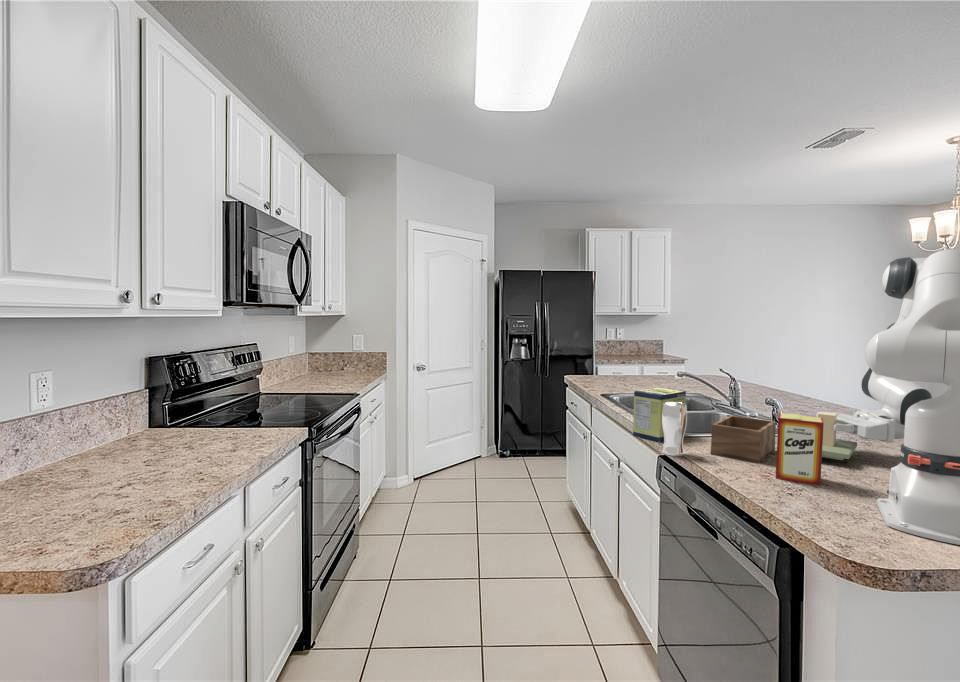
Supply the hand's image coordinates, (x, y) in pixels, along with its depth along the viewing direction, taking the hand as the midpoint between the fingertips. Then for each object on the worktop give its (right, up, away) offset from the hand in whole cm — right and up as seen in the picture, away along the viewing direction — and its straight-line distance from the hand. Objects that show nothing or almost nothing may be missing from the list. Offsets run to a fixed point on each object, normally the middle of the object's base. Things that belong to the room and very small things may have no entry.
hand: (824, 424), depth 147 cm
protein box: (-40, -8, +24) cm, 47 cm away
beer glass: (-43, -9, +3) cm, 44 cm away
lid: (+1, -8, +1) cm, 8 cm away
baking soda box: (-20, -11, -19) cm, 29 cm away
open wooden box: (-21, -9, +5) cm, 24 cm away
